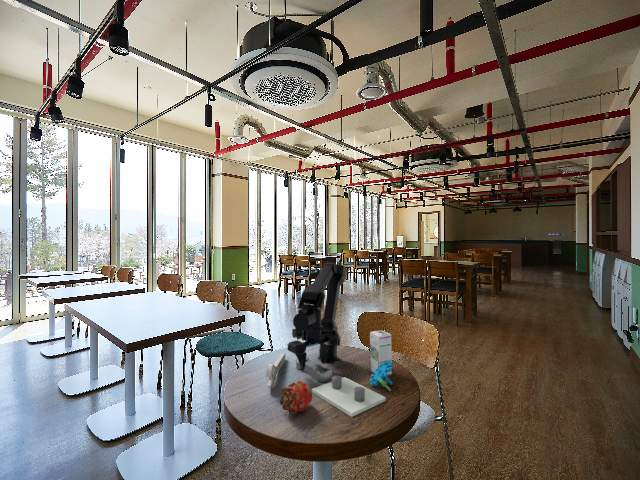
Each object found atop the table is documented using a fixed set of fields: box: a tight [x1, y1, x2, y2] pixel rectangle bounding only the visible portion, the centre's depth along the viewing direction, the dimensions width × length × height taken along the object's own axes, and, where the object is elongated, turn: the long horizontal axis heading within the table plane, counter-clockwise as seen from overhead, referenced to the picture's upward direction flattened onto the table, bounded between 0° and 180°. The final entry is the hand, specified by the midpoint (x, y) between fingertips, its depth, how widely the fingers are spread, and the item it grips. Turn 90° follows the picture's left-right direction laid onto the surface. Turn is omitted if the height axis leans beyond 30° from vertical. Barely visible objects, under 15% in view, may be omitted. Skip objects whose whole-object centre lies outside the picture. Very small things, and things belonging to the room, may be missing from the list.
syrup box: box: [369, 329, 393, 376], centre depth 115 cm, size 6×6×14 cm
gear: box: [368, 361, 394, 392], centre depth 105 cm, size 11×6×10 cm
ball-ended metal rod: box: [295, 357, 333, 384], centre depth 114 cm, size 5×18×3 cm, turn 38°
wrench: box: [265, 353, 286, 389], centre depth 113 cm, size 8×2×30 cm
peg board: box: [311, 375, 387, 418], centre depth 97 cm, size 14×18×4 cm
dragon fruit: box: [279, 380, 313, 416], centre depth 90 cm, size 8×8×12 cm
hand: (313, 366), depth 114 cm, fingers open, 9 cm apart
